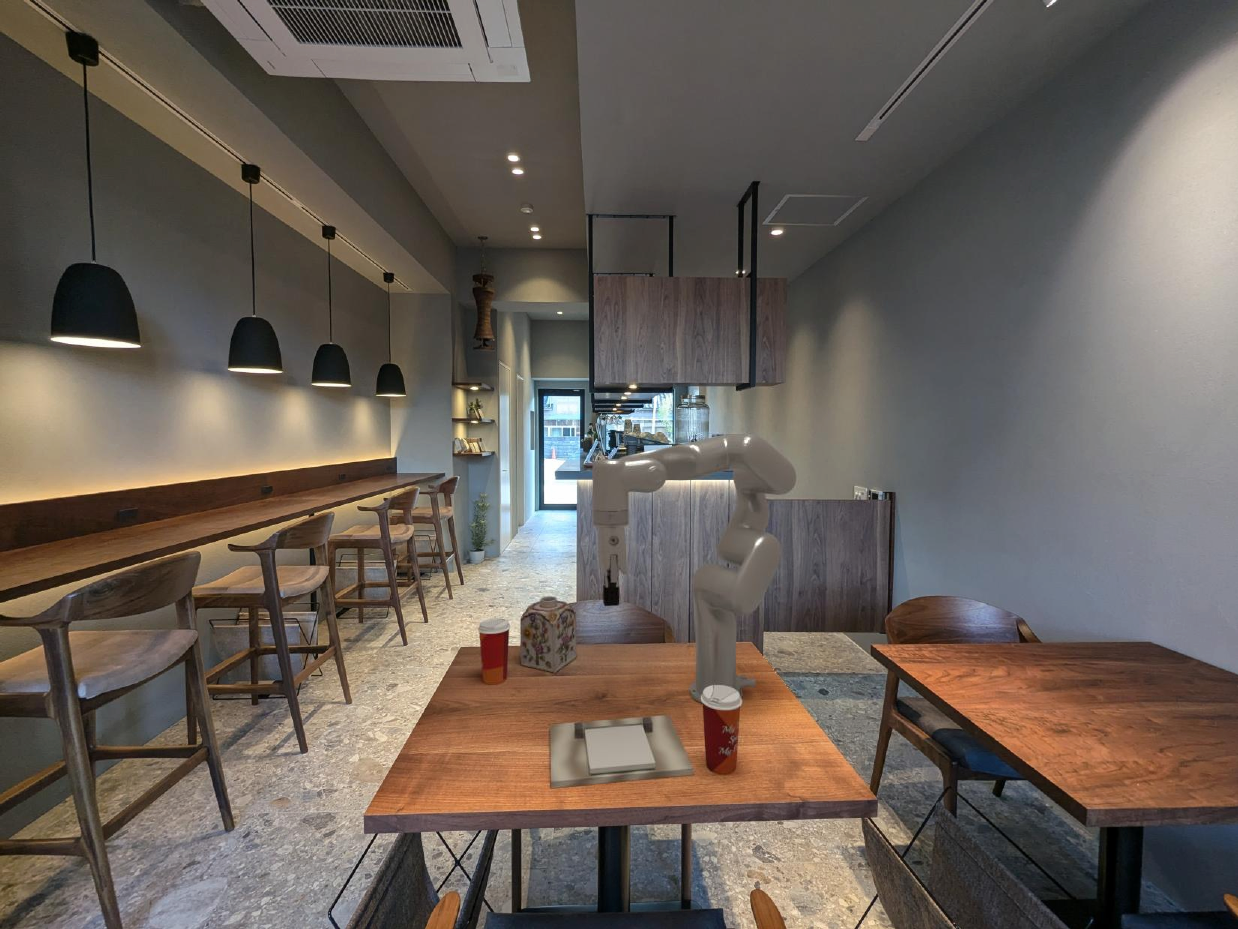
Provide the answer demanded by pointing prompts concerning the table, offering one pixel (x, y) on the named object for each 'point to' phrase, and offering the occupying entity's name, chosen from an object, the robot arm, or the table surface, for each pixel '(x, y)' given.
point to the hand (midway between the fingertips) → (611, 604)
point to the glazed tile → (618, 748)
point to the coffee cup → (494, 649)
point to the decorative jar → (548, 635)
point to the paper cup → (721, 727)
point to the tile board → (574, 771)
